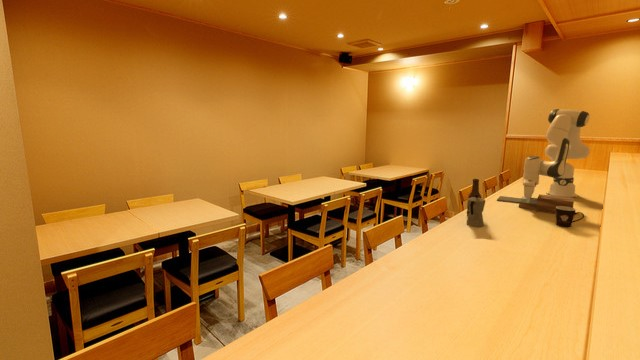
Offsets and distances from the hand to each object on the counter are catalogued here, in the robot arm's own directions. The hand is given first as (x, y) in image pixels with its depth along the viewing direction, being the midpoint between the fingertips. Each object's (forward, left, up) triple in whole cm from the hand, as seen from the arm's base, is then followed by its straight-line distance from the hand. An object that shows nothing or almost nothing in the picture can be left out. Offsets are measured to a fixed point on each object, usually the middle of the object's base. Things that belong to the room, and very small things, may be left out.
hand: (528, 201), depth 205 cm
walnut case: (0, +9, -4) cm, 10 cm away
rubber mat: (-15, -7, -4) cm, 17 cm away
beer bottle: (+40, -24, -5) cm, 47 cm away
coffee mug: (+30, +21, -5) cm, 37 cm away
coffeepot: (+55, -20, -5) cm, 59 cm away
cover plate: (0, +6, 0) cm, 6 cm away
